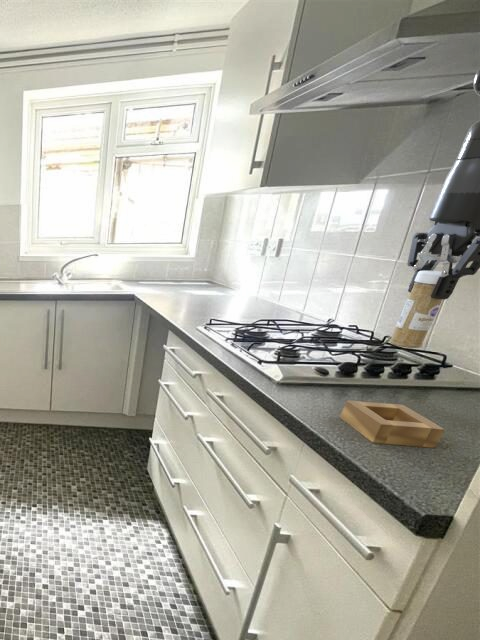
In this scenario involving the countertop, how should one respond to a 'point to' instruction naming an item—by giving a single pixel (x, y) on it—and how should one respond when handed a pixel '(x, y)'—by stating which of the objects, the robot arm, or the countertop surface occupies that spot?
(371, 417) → the holder
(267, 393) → the countertop surface
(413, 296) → the sprinkles bottle
